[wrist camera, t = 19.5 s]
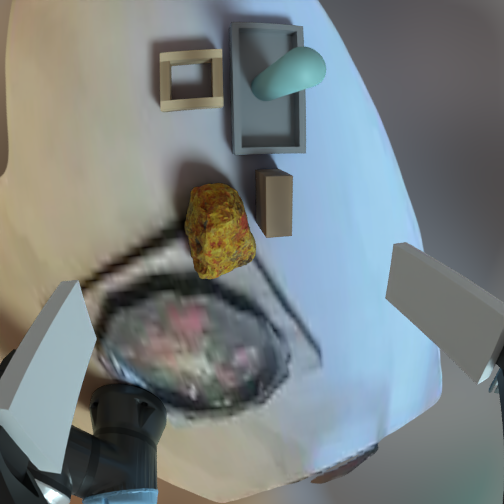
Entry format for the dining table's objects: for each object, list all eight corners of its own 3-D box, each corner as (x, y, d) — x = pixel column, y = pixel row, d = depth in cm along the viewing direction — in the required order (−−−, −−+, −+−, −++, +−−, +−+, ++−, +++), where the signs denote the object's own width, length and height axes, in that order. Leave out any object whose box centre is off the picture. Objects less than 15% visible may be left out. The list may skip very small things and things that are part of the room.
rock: (249, 208, 44) (265, 274, 41) (195, 224, 45) (205, 289, 41) (230, 163, 34) (249, 243, 30) (163, 185, 35) (170, 264, 31)
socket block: (163, 112, 33) (160, 110, 30) (162, 58, 30) (159, 53, 28) (221, 107, 34) (223, 106, 32) (219, 54, 32) (222, 48, 29)
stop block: (256, 222, 41) (266, 237, 35) (255, 169, 38) (265, 176, 33) (278, 220, 41) (291, 235, 36) (278, 168, 38) (292, 175, 33)
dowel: (251, 101, 34) (284, 86, 21) (250, 73, 33) (282, 44, 20) (280, 101, 35) (326, 89, 22) (279, 74, 33) (325, 49, 20)
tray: (232, 153, 37) (235, 154, 34) (229, 28, 30) (231, 22, 28) (299, 151, 38) (305, 153, 36) (296, 31, 32) (302, 26, 29)
